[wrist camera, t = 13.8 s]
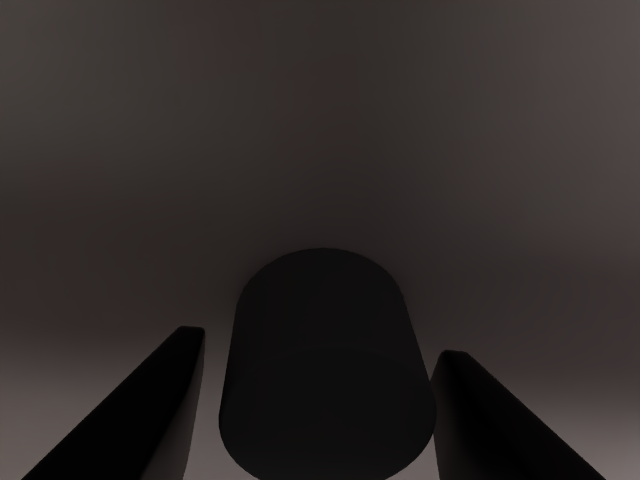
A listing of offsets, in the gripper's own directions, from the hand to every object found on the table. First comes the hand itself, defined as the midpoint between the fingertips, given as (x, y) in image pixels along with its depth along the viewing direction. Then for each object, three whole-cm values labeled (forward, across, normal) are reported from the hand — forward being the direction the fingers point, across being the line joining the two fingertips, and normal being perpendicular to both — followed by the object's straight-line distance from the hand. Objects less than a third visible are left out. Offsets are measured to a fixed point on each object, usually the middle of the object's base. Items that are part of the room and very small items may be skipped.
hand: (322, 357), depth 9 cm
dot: (+1, 0, 0) cm, 1 cm away
